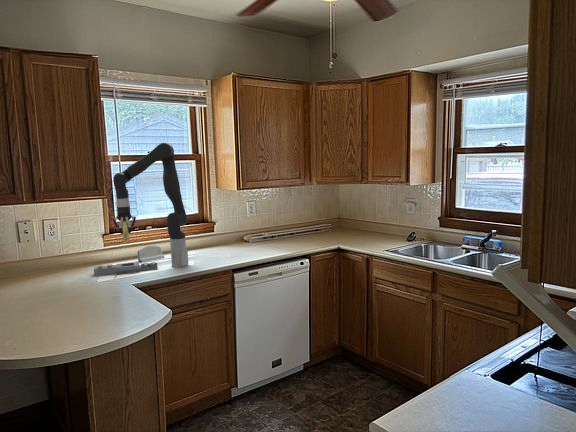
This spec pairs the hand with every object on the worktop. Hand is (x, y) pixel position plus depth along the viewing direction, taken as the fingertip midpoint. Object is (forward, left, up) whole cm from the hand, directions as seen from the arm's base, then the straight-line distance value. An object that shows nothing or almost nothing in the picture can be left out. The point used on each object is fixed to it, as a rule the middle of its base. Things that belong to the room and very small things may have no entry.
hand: (125, 233), depth 266 cm
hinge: (+2, -21, -21) cm, 30 cm away
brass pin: (0, 0, -4) cm, 4 cm away
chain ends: (-8, +8, -21) cm, 24 cm away
